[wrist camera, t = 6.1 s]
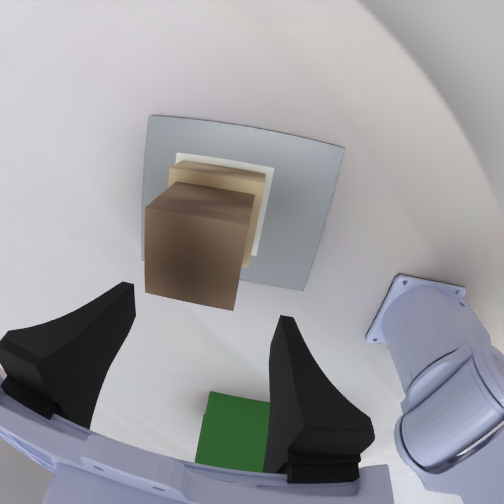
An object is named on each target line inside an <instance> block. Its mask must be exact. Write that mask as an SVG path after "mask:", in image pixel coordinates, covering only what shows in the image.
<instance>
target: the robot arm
mask: <svg viewBox="0 0 504 504" xmlns="http://www.w3.org/2000/svg"><path fill="white" fill-rule="evenodd" d="M405 280H406V281H405ZM403 281H405V282H404V283H403ZM465 294H466V289H465V288H464V287H460V286H455V285H449V284H444V283H439V282H434V281H429V280H424V279H419V278H414V277H408V276H403V275H399V276H397V277H396V278H395V280H394V282H393V284H392V287H391V289H390V291H389V293H388V295H387V297H386V299H385V301H384V303H383V305H382V307H381V309H380V311H379V313H378V315H377V317H376V319H375V321H374V323H373V325H372V327H371V328H370V330H369V332H368V334H367V336H366V341H367V342H369V343H381V344H387V345H388V348H389V350H390V353H391V356H392V358H393V361H394V364H395V366H396V369H397V372H398V375H399V378H400V381H401V383H402V386H403V389H404V392H405V395H406V398H405V399H404V400H403V401H402V402H401V403H400V405H401V408H402V412H403V415H401V416H400V417H399V419H398V420H397V422H396V425H395V429H394V437H395V445H396V448H397V451H398V453H399V455H400V457H401V459H402V460H403V461H404V463H405V464H406V465H408V466H409V467H410V468H411V469H412V470H413V471H414V472H415V473H416V474H417V475H418V476H419V478H420V479H421V481H422V483H423V485H424V487H425V489H426V490H428V491H433V492H439V493H446V494H454V495H459V496H461V498H462V500H463V502H464V504H504V425H502V426H501V427H500V428H499V429H498V430H496V431H495V432H494V433H492V434H491V435H490V436H489V437H487V438H486V439H485V440H483V441H482V442H481V443H479V444H478V445H476V446H475V447H474V448H472V449H471V450H469V451H468V452H466V453H464V454H462V455H459V456H456V455H458V454H459V453H461V452H462V451H464V450H465V449H467V448H468V447H470V446H471V445H473V444H474V443H475V442H477V441H478V440H480V439H481V438H482V437H484V436H485V435H486V434H487V433H489V432H490V431H491V430H492V429H494V428H495V427H496V426H497V425H498V424H500V423H501V422H502V421H504V355H503V354H502V353H501V352H500V351H499V350H498V349H496V348H495V347H494V346H492V345H491V340H490V336H489V334H488V332H487V330H486V329H485V327H484V326H483V325H482V323H481V322H480V320H479V319H478V317H477V316H476V315H475V313H474V312H473V311H472V309H471V308H470V307H469V305H468V304H467V303H466V301H465V300H464V299H463V298H464V296H465ZM135 317H136V310H135V296H134V284H131V283H127V282H121V283H120V284H118V285H116V286H115V287H113V288H112V289H110V290H109V291H107V292H106V293H104V294H102V295H101V296H99V297H98V298H96V299H94V300H93V301H91V302H89V303H88V304H86V305H84V306H82V307H81V308H79V309H77V310H75V311H73V312H71V313H69V314H67V315H65V316H62V317H60V318H57V319H55V320H52V321H49V322H46V323H43V324H40V325H36V326H32V327H28V328H23V329H17V330H10V331H8V332H7V333H6V334H5V335H4V337H3V338H2V339H1V340H0V364H1V365H2V367H3V369H4V371H5V372H6V374H7V377H6V378H5V380H4V378H3V377H1V376H0V437H2V438H3V439H5V440H6V441H7V442H9V443H10V444H11V445H12V446H14V447H15V448H17V449H18V450H19V451H21V452H22V453H24V454H25V455H27V456H28V457H30V458H31V459H33V460H34V461H36V462H37V463H39V464H40V465H42V466H44V467H45V468H47V469H48V470H50V471H52V472H53V473H54V474H53V476H52V479H51V481H50V484H49V486H48V489H47V492H46V494H45V497H44V500H43V502H42V504H394V500H393V492H392V486H391V480H390V474H389V468H388V465H387V464H384V465H375V466H367V467H362V468H360V469H359V467H358V463H359V462H360V461H361V457H360V454H361V453H362V452H363V451H364V450H365V449H367V448H368V447H369V446H370V445H371V444H372V443H373V441H374V439H375V434H374V429H373V425H372V422H371V419H370V417H368V416H367V415H366V414H364V413H363V412H362V411H360V410H359V409H358V408H356V407H355V406H354V405H353V404H352V403H351V402H350V401H348V400H347V399H346V398H345V397H344V396H343V395H342V394H341V393H340V392H339V391H338V390H337V389H336V387H335V386H334V385H333V384H332V383H331V382H330V381H329V379H328V378H327V377H326V376H325V374H324V373H323V371H322V370H321V369H320V367H319V366H318V364H317V363H316V361H315V359H314V358H313V356H312V354H311V353H310V351H309V349H308V347H307V345H306V343H305V341H304V339H303V337H302V335H301V333H300V331H299V329H298V327H297V324H296V322H295V320H294V318H293V317H289V316H283V315H280V318H279V321H278V324H277V327H276V330H275V333H274V336H273V339H272V342H271V346H270V357H269V382H270V414H269V425H268V434H267V443H266V451H265V458H264V465H263V471H262V473H258V472H249V471H240V470H233V469H226V468H220V467H214V466H208V465H203V464H198V463H193V462H188V461H184V460H180V459H175V458H171V457H168V456H164V455H160V454H156V453H153V452H150V451H146V450H143V449H140V448H137V447H133V446H130V445H127V444H125V443H122V442H119V441H116V440H113V439H111V438H108V437H106V436H103V435H100V434H98V433H96V432H93V431H91V430H89V429H90V425H91V420H92V416H93V413H94V409H95V406H96V402H97V399H98V396H99V393H100V390H101V387H102V385H103V382H104V379H105V377H106V374H107V372H108V370H109V367H110V365H111V363H112V362H113V360H114V358H115V356H116V355H117V353H118V351H119V349H120V347H121V346H122V344H123V342H124V340H125V339H126V337H127V335H128V333H129V331H130V329H131V327H132V324H133V322H134V319H135ZM374 338H375V339H374Z"/></svg>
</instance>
